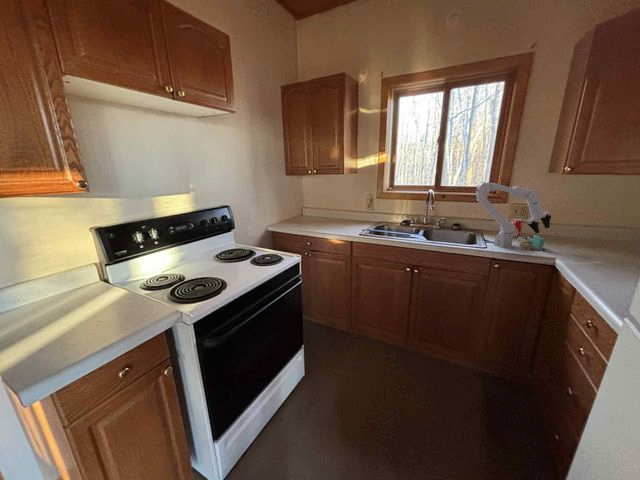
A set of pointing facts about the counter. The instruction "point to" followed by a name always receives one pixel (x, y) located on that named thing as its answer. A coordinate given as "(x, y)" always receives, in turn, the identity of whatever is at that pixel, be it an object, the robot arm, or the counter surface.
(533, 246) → the rack
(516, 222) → the soda can
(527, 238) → the stand
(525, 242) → the offcut
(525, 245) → the offcut
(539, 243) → the board
